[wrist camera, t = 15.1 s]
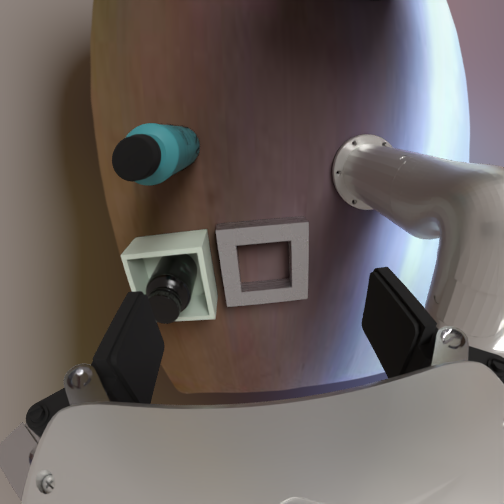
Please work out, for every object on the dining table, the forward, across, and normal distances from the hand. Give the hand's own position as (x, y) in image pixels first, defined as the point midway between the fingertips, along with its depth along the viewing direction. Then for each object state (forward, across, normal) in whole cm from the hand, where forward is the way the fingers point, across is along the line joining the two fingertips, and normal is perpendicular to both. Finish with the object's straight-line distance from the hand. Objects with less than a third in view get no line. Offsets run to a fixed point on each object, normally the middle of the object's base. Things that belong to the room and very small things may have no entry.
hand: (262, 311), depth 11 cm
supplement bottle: (+32, +13, +14) cm, 37 cm away
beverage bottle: (+32, +9, -6) cm, 34 cm away
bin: (+32, +13, +14) cm, 38 cm away
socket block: (+32, -2, +14) cm, 35 cm away
